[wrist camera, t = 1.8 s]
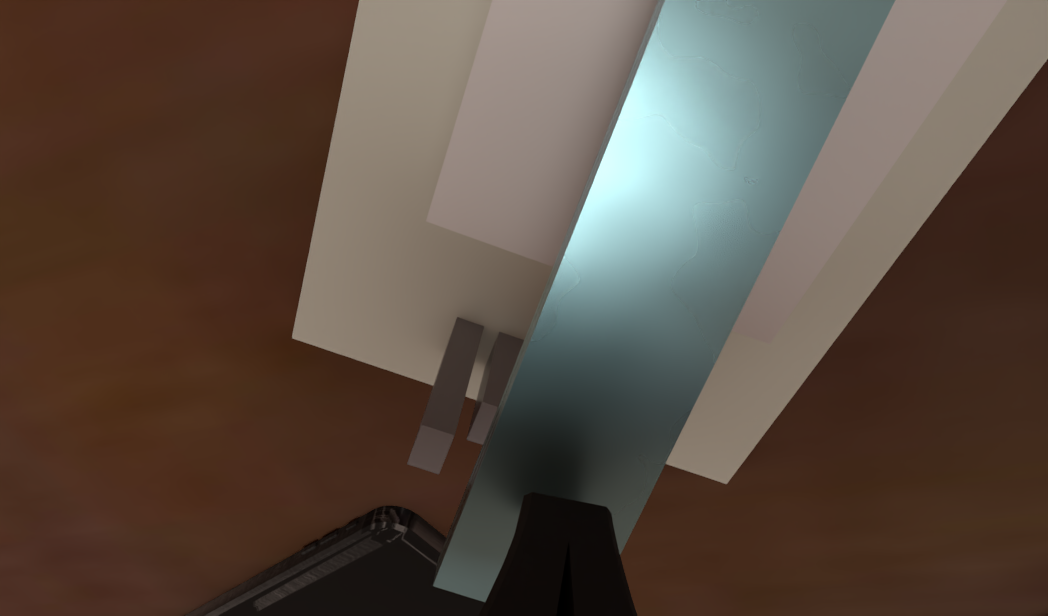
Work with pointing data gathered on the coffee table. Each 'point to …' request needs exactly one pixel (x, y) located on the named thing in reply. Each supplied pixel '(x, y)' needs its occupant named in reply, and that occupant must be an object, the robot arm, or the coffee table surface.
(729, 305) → the retention strap
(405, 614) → the phone
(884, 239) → the socket board
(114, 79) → the coffee table surface
